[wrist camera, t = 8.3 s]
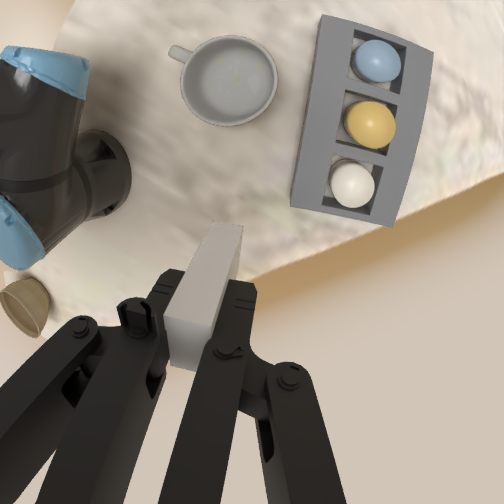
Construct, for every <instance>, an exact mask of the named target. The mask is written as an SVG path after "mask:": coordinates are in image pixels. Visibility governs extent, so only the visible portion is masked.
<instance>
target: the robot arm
mask: <svg viewBox="0 0 504 504" xmlns="http://www.w3.org/2000/svg"><path fill="white" fill-rule="evenodd" d="M0 57H1V59H0V260H2V261H3V262H4V263H5V264H6V265H8V266H9V267H11V268H13V269H15V270H26V269H28V268H30V267H31V266H32V265H34V264H35V263H36V262H37V261H38V260H41V259H43V258H44V257H45V255H46V254H47V253H48V252H50V251H51V250H52V249H53V248H54V247H55V246H56V245H57V244H58V243H59V242H61V241H62V240H63V239H64V238H65V237H66V236H67V235H68V234H70V233H71V232H72V231H73V230H74V229H75V228H77V227H78V226H79V225H80V224H81V223H83V222H84V221H89V220H93V219H97V218H102V217H105V216H107V215H109V214H111V213H112V212H114V211H115V210H116V209H117V208H119V207H120V206H121V205H122V204H123V202H124V201H125V199H126V198H127V195H128V193H129V190H130V185H131V169H130V164H129V160H128V158H127V155H126V153H125V151H124V149H123V148H122V146H121V145H120V143H119V142H118V141H117V140H116V139H115V138H114V137H112V136H111V135H109V134H107V133H105V132H103V131H98V130H91V131H87V132H84V133H80V134H78V135H77V133H78V128H79V122H80V118H81V113H82V109H83V105H84V101H86V99H87V96H86V92H87V87H88V83H89V78H90V74H91V65H90V63H89V61H88V60H87V59H85V58H83V57H80V56H75V55H70V54H65V53H60V52H54V51H48V50H42V49H34V48H26V47H17V46H7V47H5V48H4V50H3V52H2V53H1V54H0ZM242 233H243V226H239V225H233V224H227V223H220V222H214V221H213V222H212V224H211V226H210V228H209V230H208V231H207V233H206V235H205V237H204V239H203V240H202V242H201V244H200V246H199V248H198V250H197V251H196V253H195V255H194V257H193V259H192V261H191V263H190V264H189V266H188V268H187V270H186V272H185V271H180V270H175V269H169V270H167V271H166V272H164V273H163V274H161V275H160V277H159V279H158V280H157V282H156V284H155V285H154V287H153V288H152V291H151V292H150V293H149V295H148V296H147V298H146V299H144V298H138V297H134V298H129V299H126V300H124V301H122V302H121V303H120V304H119V305H118V306H117V311H118V315H119V319H120V322H121V326H115V327H107V326H98V325H97V322H96V321H95V320H94V319H93V318H92V317H89V316H82V315H80V316H77V317H74V318H72V319H71V320H69V321H68V322H67V323H66V324H65V325H64V326H62V327H61V328H60V329H59V330H58V331H57V332H56V333H55V334H54V335H53V336H52V337H51V338H49V339H48V340H47V341H46V342H45V343H44V344H43V345H42V346H41V347H40V348H39V349H38V350H37V351H36V352H35V353H34V354H33V355H32V356H31V357H30V358H29V359H28V360H27V361H26V362H25V363H24V364H23V365H22V366H21V367H20V368H19V369H18V370H17V371H16V372H15V373H14V374H13V375H12V376H11V377H10V378H9V379H8V380H7V381H6V382H5V383H4V384H3V385H2V386H1V387H0V504H13V503H14V502H15V501H16V500H17V499H18V497H19V496H20V495H21V493H22V492H23V491H24V490H25V488H26V487H27V485H28V484H29V483H30V482H31V480H32V479H33V478H34V476H35V475H36V474H37V473H38V471H39V470H40V469H41V468H42V466H43V465H44V464H45V463H46V461H47V460H48V459H49V458H50V456H51V455H52V454H53V453H54V451H55V450H56V452H55V454H54V457H53V459H52V461H51V464H50V466H49V469H48V471H47V474H46V477H45V479H44V482H43V484H42V487H41V489H40V492H39V495H38V498H37V501H36V503H35V504H123V502H124V499H125V496H126V492H127V489H128V486H129V483H130V479H131V477H132V473H133V470H134V467H135V464H136V461H137V458H138V455H139V452H140V449H141V446H142V443H143V440H144V438H145V435H146V432H147V429H148V426H149V423H150V420H151V418H152V415H153V412H154V409H155V406H156V404H157V401H158V398H159V395H160V393H161V390H162V387H163V384H164V381H165V379H166V365H167V363H168V360H169V359H170V365H171V366H175V367H178V368H182V369H186V370H190V371H195V372H196V375H195V378H194V381H193V385H192V388H191V391H190V394H189V398H188V401H187V404H186V408H185V411H184V414H183V418H182V421H181V424H180V428H179V431H178V434H177V438H176V441H175V445H174V448H173V451H172V455H171V458H170V462H169V465H168V469H167V472H166V476H165V479H164V483H163V487H162V490H161V494H160V497H159V501H158V504H220V502H221V497H222V492H223V487H224V481H225V476H226V471H227V465H228V460H229V455H230V449H231V443H232V439H233V433H234V427H235V422H236V417H237V411H238V410H239V411H241V412H243V413H245V414H247V415H249V416H251V417H254V418H255V423H256V429H257V437H258V443H259V450H260V456H261V463H262V469H263V475H264V481H265V487H266V493H267V499H268V504H347V503H346V500H345V496H344V492H343V488H342V485H341V481H340V477H339V474H338V470H337V466H336V463H335V459H334V456H333V452H332V448H331V445H330V441H329V438H328V435H327V431H326V427H325V424H324V420H323V417H322V413H321V410H320V407H319V403H318V400H317V396H316V393H315V390H314V386H313V383H312V379H311V377H310V375H309V373H308V371H307V370H306V369H305V368H303V367H302V366H301V365H298V364H296V363H294V362H282V363H277V364H276V365H273V364H270V363H268V362H266V361H264V360H262V359H260V358H259V357H258V356H257V355H255V354H254V352H253V351H252V349H251V346H250V334H251V328H252V322H253V316H254V310H255V304H256V297H257V290H256V288H255V286H254V284H253V283H249V282H243V281H238V280H236V276H237V273H238V265H239V257H240V249H241V241H242Z"/></svg>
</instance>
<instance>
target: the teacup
mask: <svg viewBox="0 0 504 504" xmlns="http://www.w3.org/2000/svg"><path fill="white" fill-rule="evenodd" d="M168 55H169V56H170V57H172V58H174V59H176V60H178V61H180V62H182V63H185V65H184V67H183V70H182V74H181V79H180V87H181V93H182V97H183V99H184V101H185V103H186V105H187V106H188V108H189V109H190V110H191V111H192V112H193V114H195V115H196V116H197V117H198V118H200V119H201V120H203V121H205V122H208V123H210V124H213V125H217V126H236V125H241V124H244V123H246V122H249V121H251V120H253V119H254V118H256V117H257V116H259V115H260V114H261V113H262V112H263V111H264V110H266V108H267V107H268V106H269V105H270V103H271V102H272V100H273V98H274V96H275V94H276V90H277V86H278V73H277V69H276V65H275V63H274V61H273V59H272V57H271V55H270V54H269V53H268V52H267V50H266V49H265V48H264V47H262V46H261V45H260V44H258V43H257V42H255V41H253V40H251V39H248V38H245V37H242V36H235V35H227V36H220V37H216V38H213V39H211V40H208V41H206V42H205V43H203V44H202V45H200V46H199V47H198V48H197V49H196V50H195V51H194V52H191V51H189V50H186V49H184V48H182V47H179V46H177V45H174V46H172V47H171V48H170V50H169V52H168Z"/></svg>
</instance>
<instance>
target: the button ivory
mask: <svg viewBox="0 0 504 504" xmlns="http://www.w3.org/2000/svg"><path fill="white" fill-rule="evenodd" d="M328 181H329V185H330V187H331V190H332V192H333V194H334V196H335V198H336V199H337V201H338V202H339V203H340V204H342V205H343V206H346V207H350V208H357V207H360V206H363V205H364V204H366V203H367V202H368V201H369V200H370V199H371V197H372V195H373V193H374V180H373V178H372V176H371V174H370V173H369V172H368V171H367V170H366V169H365V168H364V167H363V166H362V165H361V164H360V163H358V162H356V161H354V160H350V159H346V160H341V161H339V162H337V163H336V164H335V165H334V166H333V167H332V168H331V170H330V172H329V176H328Z"/></svg>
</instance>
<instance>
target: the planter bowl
mask: <svg viewBox="0 0 504 504" xmlns="http://www.w3.org/2000/svg"><path fill="white" fill-rule="evenodd" d="M0 303H1V305H2V307H3V309H4V311H5V313H6V314H7V316H8V317H9V319H10V320H11V321H12V322H13V323H14V324H15V325H16V327H17V328H19V329H20V330H21V331H22V332H23V333H25V334H26V335H28V336H29V337H32V338H38V337H39V336H40V334H41V331H42V330H43V328H44V326H45V324H46V321H47V317H48V305H49V304H50V298H49V295H48V293H47V291H46V290H45V288H44V287H43V286H42V285H41V284H40V283H39V282H38V281H37V280H35V279H33V278H29V279H27V280H19V281H16V282H13V283H11V284H9V285H8V286H7V287H6V288H5V289H3V290H2V291H1V292H0Z"/></svg>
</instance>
